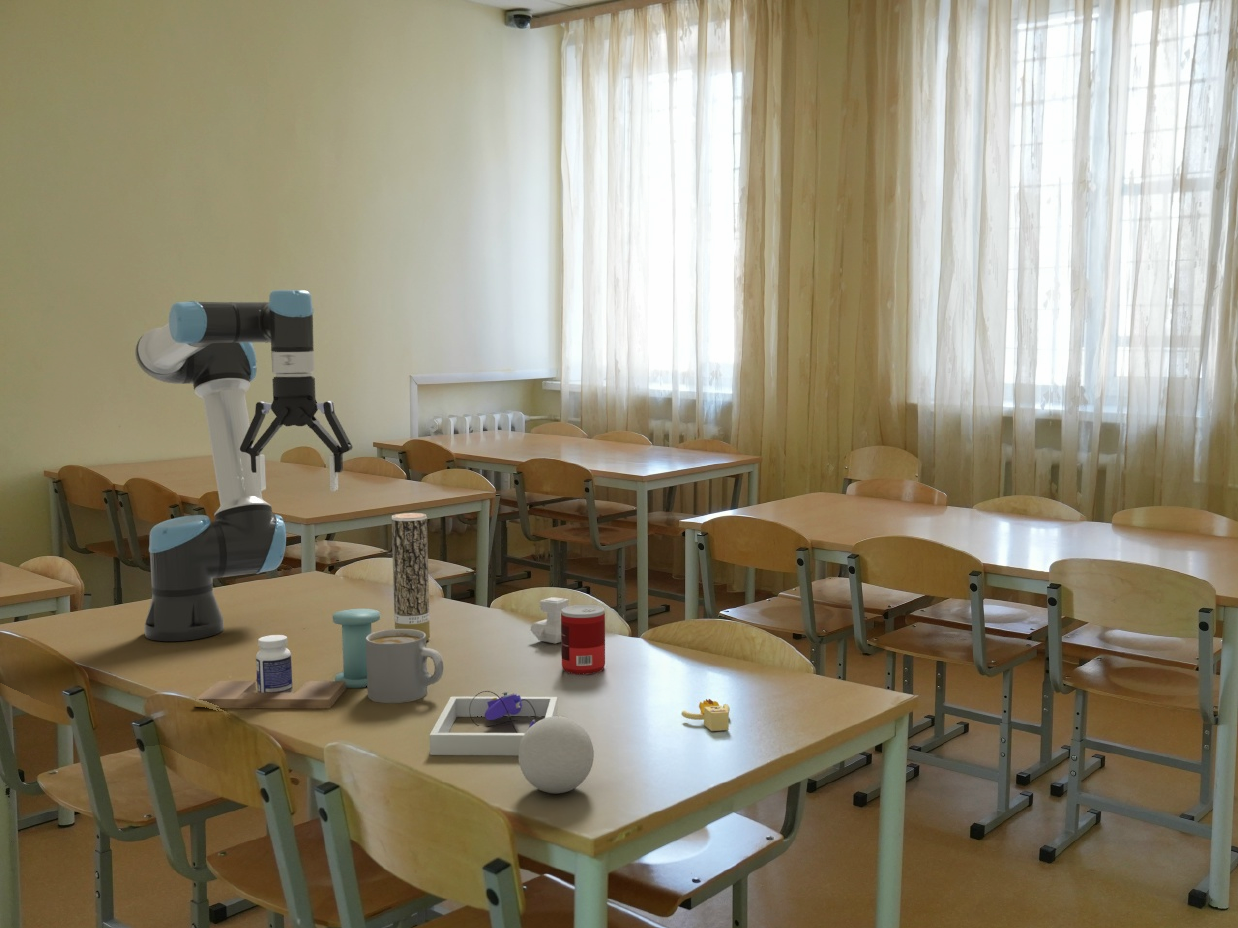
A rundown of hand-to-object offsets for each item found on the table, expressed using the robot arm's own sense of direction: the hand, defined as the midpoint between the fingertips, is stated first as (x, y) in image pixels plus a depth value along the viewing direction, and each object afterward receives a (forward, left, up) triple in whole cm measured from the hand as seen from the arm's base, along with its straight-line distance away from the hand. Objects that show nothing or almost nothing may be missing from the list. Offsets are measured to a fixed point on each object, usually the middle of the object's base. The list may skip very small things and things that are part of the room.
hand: (298, 490), depth 221 cm
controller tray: (+42, -42, -32) cm, 67 cm away
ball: (+53, -64, -32) cm, 89 cm away
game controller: (+44, -39, -32) cm, 67 cm away
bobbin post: (+14, -15, -32) cm, 38 cm away
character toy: (+76, -36, -32) cm, 90 cm away
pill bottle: (+2, -23, -32) cm, 39 cm away
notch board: (+2, -25, -32) cm, 40 cm away
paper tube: (+18, +12, -32) cm, 39 cm away
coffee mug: (+24, -23, -32) cm, 46 cm away
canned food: (+53, -7, -32) cm, 62 cm away
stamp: (+46, +12, -32) cm, 57 cm away
